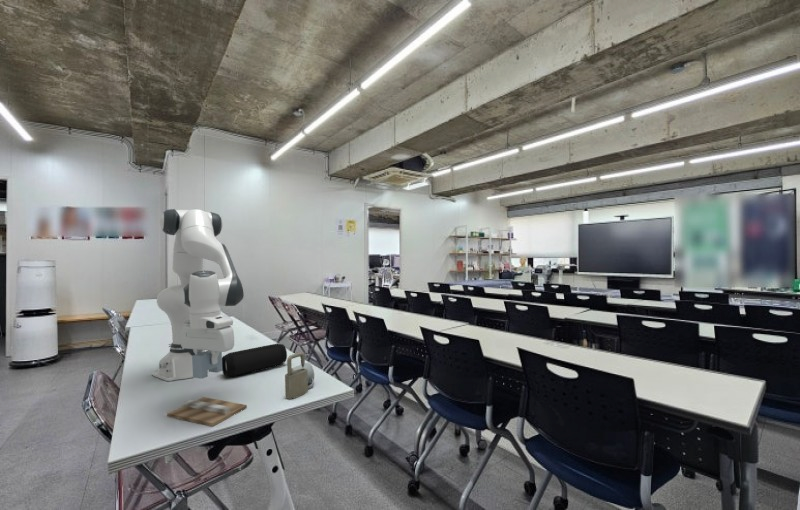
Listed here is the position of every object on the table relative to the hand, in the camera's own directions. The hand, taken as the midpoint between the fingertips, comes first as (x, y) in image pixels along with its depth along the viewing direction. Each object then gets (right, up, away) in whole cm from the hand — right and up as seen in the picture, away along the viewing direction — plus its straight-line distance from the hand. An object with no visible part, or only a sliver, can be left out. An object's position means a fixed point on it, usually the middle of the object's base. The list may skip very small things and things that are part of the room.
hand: (207, 363), depth 112 cm
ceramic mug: (+25, -16, +22) cm, 37 cm away
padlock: (+25, -16, +12) cm, 32 cm away
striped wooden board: (0, -16, 0) cm, 16 cm away
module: (0, -4, 0) cm, 4 cm away
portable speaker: (-1, -16, +40) cm, 43 cm away
